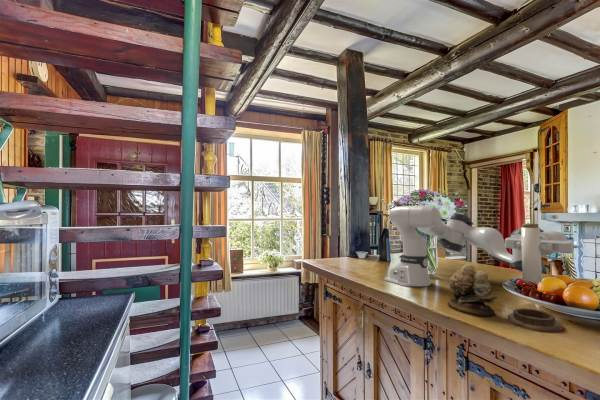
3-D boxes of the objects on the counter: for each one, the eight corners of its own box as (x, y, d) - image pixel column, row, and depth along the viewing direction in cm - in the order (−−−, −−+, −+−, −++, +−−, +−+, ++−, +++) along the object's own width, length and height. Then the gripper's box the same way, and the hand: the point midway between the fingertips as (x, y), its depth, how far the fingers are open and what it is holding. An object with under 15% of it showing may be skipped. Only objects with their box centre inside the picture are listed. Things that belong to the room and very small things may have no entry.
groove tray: (500, 321, 99) (499, 312, 99) (517, 312, 107) (517, 304, 107) (553, 335, 88) (553, 325, 88) (568, 324, 96) (568, 315, 96)
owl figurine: (506, 315, 106) (505, 266, 106) (485, 321, 101) (483, 270, 101) (460, 300, 122) (458, 258, 122) (439, 305, 117) (438, 261, 117)
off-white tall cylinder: (520, 280, 108) (518, 224, 109) (526, 278, 112) (524, 223, 112) (538, 283, 104) (536, 224, 105) (544, 280, 107) (542, 224, 108)
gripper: (580, 255, 107) (568, 259, 99) (513, 249, 124) (498, 252, 116) (579, 237, 107) (567, 240, 99) (513, 233, 124) (498, 236, 116)
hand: (529, 246), depth 108 cm, fingers closed on off-white tall cylinder, 5 cm apart
